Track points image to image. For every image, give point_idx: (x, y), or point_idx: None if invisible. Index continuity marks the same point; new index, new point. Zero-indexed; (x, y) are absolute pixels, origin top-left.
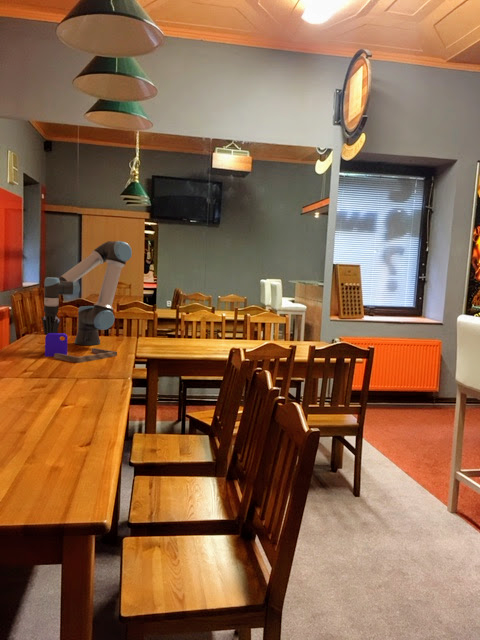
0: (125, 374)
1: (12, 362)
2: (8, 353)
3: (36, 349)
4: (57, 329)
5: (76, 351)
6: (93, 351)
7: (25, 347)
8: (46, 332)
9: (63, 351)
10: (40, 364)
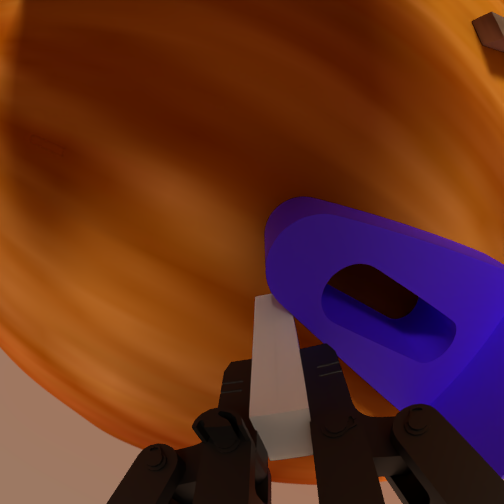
0: None
1: None
2: None
3: (124, 338)
4: (501, 494)
5: (397, 70)
6: (501, 46)
7: (44, 343)
8: (188, 500)
9: None
10: None
